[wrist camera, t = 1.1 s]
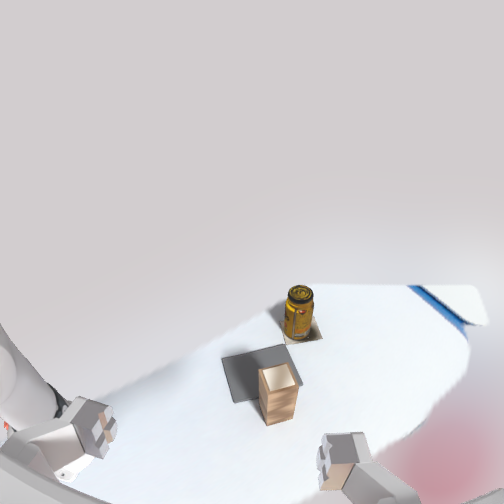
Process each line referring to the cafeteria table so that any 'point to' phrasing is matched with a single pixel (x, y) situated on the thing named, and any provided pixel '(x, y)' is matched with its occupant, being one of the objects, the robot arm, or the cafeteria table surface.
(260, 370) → the block
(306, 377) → the cafeteria table surface
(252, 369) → the mat
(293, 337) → the condiment
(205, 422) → the cafeteria table surface
